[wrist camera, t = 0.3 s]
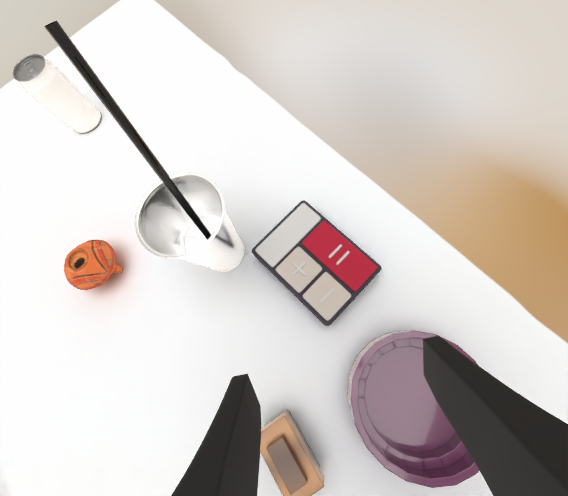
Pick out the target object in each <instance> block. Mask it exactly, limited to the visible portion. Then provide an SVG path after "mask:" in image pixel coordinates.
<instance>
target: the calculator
mask: <svg viewBox="0 0 568 496" xmlns="http://www.w3.org/2000/svg"><path fill="white" fill-rule="evenodd" d="M252 253H253V254H254V255H255V257H256V258H257V259H258V260H259V261H260V262H261V263H262V264H263V265H264V266H265V267H266V268H267V269H268V270H269V271H270V272H271V273H272V274H273V275H275V276H276V277H277V278H278V279H279V280H280V281H281V282H282V283H283V284H284V285H285V286H286V287H287V288H288V289H289V290H290V291H291V292H292V293H293V294H294V295H295V296H296V297H297V298H298V299H299V300H300V301H301V302H302V303H303V304H304V305H305V306H306V307H307V308H308V309H309V310H310V311H311V312H312V313H313V314H314V315H315V316H316V317H317V318H318V319H319V320H320V321H321V322H322V323H323V324H324V325H326V326H329V325H330V324H331V323H332V322H333V321H334V320H335V319H336V318H337V317H338V316H339V315H340V314H341V313H342V311H343V310H344V309H345V308H346V307H347V306H348V305H349V304H350V303H351V302H352V301H353V300H354V299H355V297H356V296H357V295H358V294H359V293H360V292H361V291H362V290H363V289H364V288H365V287H366V286H367V285H368V283H369V282H370V281H371V280H372V279H373V278H374V277H375V276H376V275H377V274H378V273H379V272H380V270H381V266H380V265H379V264H378V263H376V262H375V261H374V260H373V259H372V258H371V257H370V256H368V255H367V254H366V253H365V252H364V251H363V250H361V249H360V248H359V247H358V246H357V245H356V244H354V243H353V242H352V241H351V240H350V239H349V238H348V237H346V236H345V235H344V234H343V233H342V232H341V231H339V230H338V229H337V228H336V227H335V226H334V225H333V224H331V223H330V222H329V221H328V220H327V219H326V218H324V217H323V216H322V215H321V214H320V213H319V212H317V211H316V210H315V209H314V208H313V207H312V206H311V205H309V204H308V203H307V202H306V201H301V202H300V203H299V204H298V205H297V206H296V207H295V208H294V209H293V210H292V211H291V212H290V213H289V214H288V215H287V216H286V217H285V218H284V219H283V220H282V221H281V222H280V223H279V224H278V225H277V226H275V227H274V228H273V229H272V230H271V231H270V232H269V233H268V234H267V235H266V236H265V237H264V238H263V239H262V240H261V241H260V242H259V243H258V244H257V245H256V246H255V247H254V248H253V249H252Z"/></svg>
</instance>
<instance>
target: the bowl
mask: <svg viewBox="0 0 568 496" xmlns="http://www.w3.org/2000/svg"><path fill="white" fill-rule="evenodd" d="M434 336H438V335H436V334H431V333H425V332H419V331H399V332H392V333H386V334H384V335H382V336H380V337H378V338H376V339H374V340H372V341H370V342H369V343H368V344H367V345H366V346H365V348H364V349H363V350H362V351H361V352H360V353H359V354H358V356H357V357H356V359H355V362H354V364H353V366H352V369H351V371H350V373H349V383H348V392H347V393H348V399H349V405H350V410H351V415H352V417H353V420H354V423H355V425H356V427H357V429H358V431H359V433H360V435H361V437H362V439H363V441H364V443H365V445H366V447H367V448H368V450H369V451H370V452H371V453H372V454H373V455H374V456H375V457H376V459H377V460H378V461H379V462H380V463H381V464H382V465H383V466H384V467H385V468H386V469H388V470H389V471H391V472H393V473H394V474H396V475H397V476H399V477H400V478H402V479H404V480H405V481H408V482H412V483H416V484H420V485H424V486H427V487H431V488H433V487H443V486H453V485H457V484H459V483H461V482H462V481H464V480H466V479H468V478H470V477H472V476H474V475H475V474H477V473H478V471H479V469H478V467H477V465H476V463H475V462H474V460H473V459H472V457H471V455H470V454H469V452H468V451H467V449H466V447H465V446H464V444H463V443H462V441H461V440H460V438H459V436H458V435H457V433H456V432H455V430H454V428H453V427H452V425H451V424H450V422H449V420H448V419H447V417H446V416H445V414H444V412H443V411H442V409H441V408H440V406H439V404H438V403H437V401H436V399H435V397H434V395H433V393H432V391H431V389H430V387H429V385H428V383H427V381H426V379H425V376H424V372H423V339H424V338H429V337H434ZM441 338H442V337H441ZM443 339H444V338H443ZM444 340H445V341H446V342H448V343H449V344H450V345H452V346H453V347H454V348H455V349H457V350H458V351H459V352H461V353H462V354H463V355H465V356H466V357H467V358H469V359H470V360H471V361H473V362H474V363H475V364H477V363H476V362H475V360H474V359H472V358H471V357H470V356H469V355H468V354H467V353H466V352H465V351H463V350H462V349H461V348H460V347H459V346H458V345H456V344H454V343H452V342H450V341H448V340H446V339H444ZM477 365H478V364H477Z"/></svg>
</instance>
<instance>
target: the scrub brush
mask: <svg viewBox="0 0 568 496" xmlns="http://www.w3.org/2000/svg"><path fill="white" fill-rule="evenodd" d="M260 452H261V454H262V456H263V458H264V460H265V462H266V463H267V465H268V467H269V469H270V471H271V473H272V475H273V477H274V479H275V481H276V483H277V485H278V487H279V489H280V491H281V493H282V495H283V496H312V495H313V494H314V493H316V492H317V491H319V490H320V489H321V488H323V487H324V475H323V474H322V472H321V470H320V465H319V463H318V461H317V460H316V458H315V456H314V454H313V453H312V451H311V449H310V447H309V446H308V444H307V442H306V440H305V439H304V437H303V435H302V433H301V432H300V430H299V428H298V426H297V424H296V423H295V421H294V419H293V417H292V416H291V414H290V412H289V410H286V411H285V412H283V413H282V414H280V415H279V416H278V417H276V418H275V419H273V420H272V421H271V422H269V423H268V424H266V425H265V426H264V427H262V428H261V445H260Z"/></svg>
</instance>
